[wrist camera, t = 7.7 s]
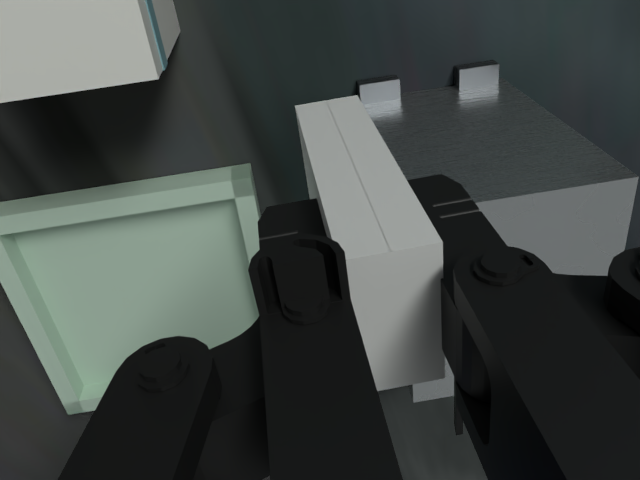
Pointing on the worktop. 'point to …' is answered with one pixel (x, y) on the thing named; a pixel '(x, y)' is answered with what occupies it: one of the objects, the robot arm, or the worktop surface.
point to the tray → (129, 271)
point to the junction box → (508, 171)
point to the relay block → (82, 44)
